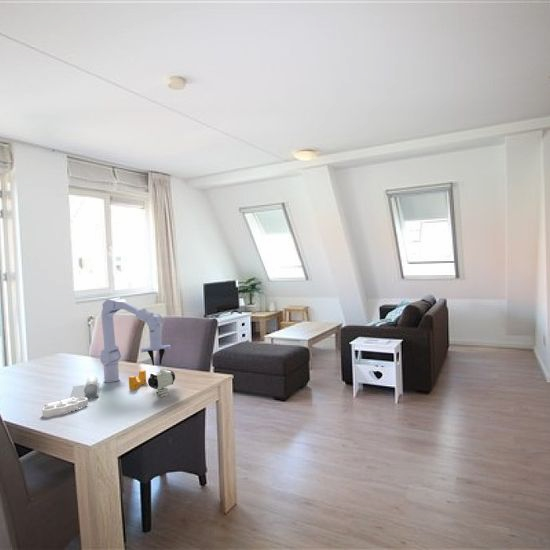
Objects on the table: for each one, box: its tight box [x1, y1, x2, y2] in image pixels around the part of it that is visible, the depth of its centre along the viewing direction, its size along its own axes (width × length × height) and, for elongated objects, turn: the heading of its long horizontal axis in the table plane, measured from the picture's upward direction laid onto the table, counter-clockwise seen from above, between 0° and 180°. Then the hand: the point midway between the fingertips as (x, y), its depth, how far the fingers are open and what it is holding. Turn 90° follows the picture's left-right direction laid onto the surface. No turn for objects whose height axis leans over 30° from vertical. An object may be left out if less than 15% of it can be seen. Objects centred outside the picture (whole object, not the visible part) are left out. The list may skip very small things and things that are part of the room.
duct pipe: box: [69, 375, 100, 400], centre depth 196 cm, size 22×12×6 cm, turn 22°
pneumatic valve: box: [147, 369, 176, 398], centre depth 187 cm, size 6×12×12 cm, turn 138°
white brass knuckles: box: [41, 397, 89, 418], centre depth 175 cm, size 3×18×15 cm
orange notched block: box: [128, 369, 147, 391], centre depth 205 cm, size 12×4×6 cm, turn 170°
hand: (156, 364), depth 209 cm, fingers open, 3 cm apart
